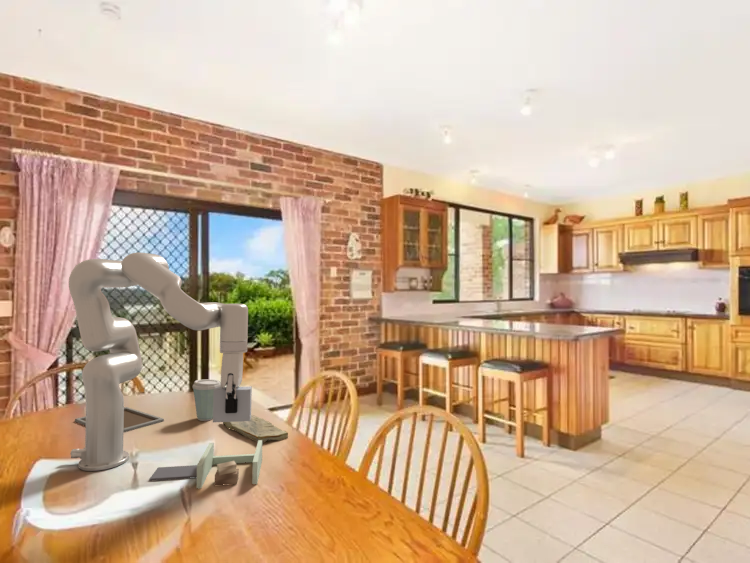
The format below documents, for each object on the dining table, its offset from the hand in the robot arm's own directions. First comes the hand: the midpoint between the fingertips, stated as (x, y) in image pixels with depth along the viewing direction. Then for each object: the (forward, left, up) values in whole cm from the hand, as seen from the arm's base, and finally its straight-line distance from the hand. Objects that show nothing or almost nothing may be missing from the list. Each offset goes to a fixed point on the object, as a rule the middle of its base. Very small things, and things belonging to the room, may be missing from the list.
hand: (232, 409), depth 121 cm
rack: (0, -3, -17) cm, 17 cm away
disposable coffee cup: (-17, +48, -17) cm, 54 cm away
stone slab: (+3, +32, -18) cm, 37 cm away
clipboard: (-49, +51, -18) cm, 73 cm away
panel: (-14, -1, -17) cm, 22 cm away
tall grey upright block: (0, 0, -3) cm, 3 cm away
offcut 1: (0, -8, -14) cm, 16 cm away
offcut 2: (0, -8, -17) cm, 19 cm away
